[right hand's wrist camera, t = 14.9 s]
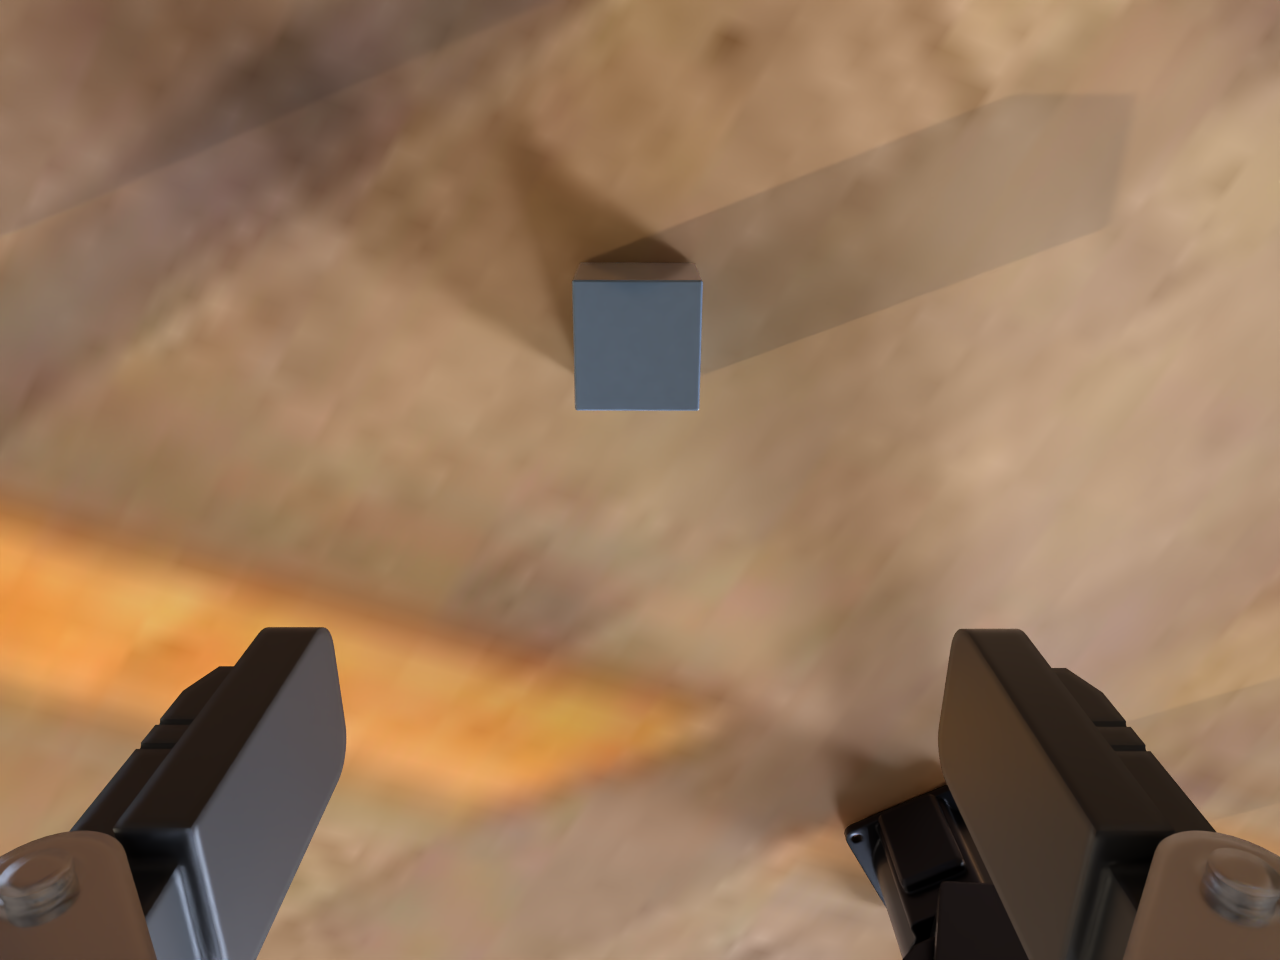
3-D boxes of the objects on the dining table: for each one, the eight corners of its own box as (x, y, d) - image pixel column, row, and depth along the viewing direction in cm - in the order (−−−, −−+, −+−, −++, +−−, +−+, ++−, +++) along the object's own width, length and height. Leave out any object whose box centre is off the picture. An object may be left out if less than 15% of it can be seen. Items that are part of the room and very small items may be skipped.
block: (692, 380, 34) (699, 411, 30) (582, 379, 34) (574, 411, 30) (695, 262, 33) (703, 280, 29) (579, 262, 33) (571, 279, 29)
